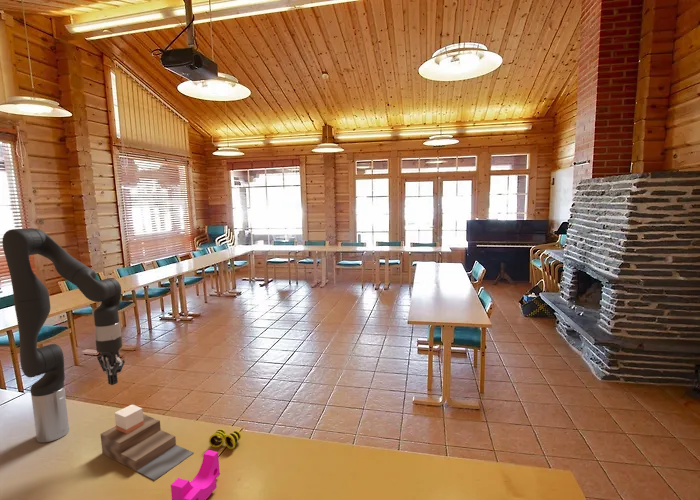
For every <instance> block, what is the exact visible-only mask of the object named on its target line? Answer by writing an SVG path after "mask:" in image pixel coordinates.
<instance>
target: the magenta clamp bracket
mask: <svg viewBox="0 0 700 500" xmlns="http://www.w3.org/2000/svg"><path fill="white" fill-rule="evenodd" d="M202 455H203V456H202V460H201V461H202V462H201V464H200V468H199V470H198V471H197V472H196V475H195V477H194V478H193V479H192V480H187V479H185V478H181V477H177V478H176V480H174V481H173V482H172V483H171V484H170V493H171V500H207V499H208V498H209V497H210V495H212V493H213V492H214V491H215V490H216V489H217V488H218V487H217V478H218V477H219V476H220V460H219V458H220V457H219V452H218V451H215V450H212V449H211V450H210V449H207V450H206V451H205V452H204V453H203V454H202Z"/></svg>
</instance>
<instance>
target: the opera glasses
mask: <svg viewBox="0 0 700 500" xmlns="http://www.w3.org/2000/svg"><path fill="white" fill-rule="evenodd" d="M241 439H242V434H241V432H240V430H235V429H234V430H233V432H230V433H229V434H226V430H224V428H218V429H217V430H216V431H215V432H214V433H212V434H211V435H210V436H209V438H208V443H209V445H210V446H211V447H212V448H219V447H221V446H222V445H223V444H225V446H226V447H227V448H228V449H229V450H234V449H235V447H236V445H237V444H238V442H239V440H241Z"/></svg>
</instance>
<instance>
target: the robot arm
mask: <svg viewBox="0 0 700 500" xmlns="http://www.w3.org/2000/svg"><path fill="white" fill-rule="evenodd" d="M2 249H3V253H4V256H5V259H6V263H7V266H8V267H7V268H8V270H9V271H8V272H9V275H10V276H9V277H10V283H11V286H12V293H13V303H14V309H15V314H16V315H15V317H16V321H17V328H18V335H19V336H18V337H19V361H20V366H21V367H20V368H21V370H22V373H23V374H24V376H25V377H27V378H35V377H38V376H40V375H42V376H41V378H39V379H38V380H37V381H35V382H34V383H33V384H32V385H31V387H30V394H31V395H30V397H31V404H32V410H33V420H34V428H35V435H36V436H35V437H36V441H37V442H38V443H49V442H53V441H56V440H58V439H60V438H63V437H64V436H66V435H67V434H68V433H69V431H70V424H69V416H68V407H67V400H66V398H67V397H66V391H65V381H66V380H65V379H66V377H65V358H64V352H63V349H62V348H61V346H60V345H58V344H56V343H52V344H51V343H49V344H47V345H44V346H40V347H37V345H38V338H39V333H40V332H41V330H42V328H43V326H44V324H45V322H46V321H47V319H48V317H49V315H50V311H51V302H50V301H51V300H50V293H49V289H48V288H47V287H46V286H45V284H44V283H43V282H42V280H40V279H39V277H37V275H36V274H35V272H34V270H33V269H32V266H31V262H30V256H32V255H33V256H34V255H39V256H42V257H44V258H46V259H48V260H50V262H52V264H53V266H54V269H55V271H56V272H57V273H58V274H59V276H61V277H62V278H63V279H64V280H66V281H68V282H70V283H71V284H72V285H75V286H76V287H77V288H78V290H79V292H80V293H81V294H83V296H84V297H85V298H86V299H87V300H89V301H91V302H96V303H100V306H98V307H96V309H95V310H94V311H93V318H94V319H93V320H94V321H93V322H94V338H95V346H96V347H95V348H96V352H97V353H99V354H100V355H98V356H97V357H96V358H97V361H98V363H99V365H100V367H101V369H102V372H105V374H106V375H107V384H108V385H111V386H114V385H117V384H118V373H121V372H122V370H123V367H124V365H125V362H126V361H125V359H121V358H120V357H121V355H120V352H119V351H120V350H121V349H122V347H123V339H122V330H121V325H120V317H119V307H120V303H121V297H122V286H121V284H120V282H119V281H118V280H117V278H116V279H115V278H111V277H108V278H103V279H100V280H97V279H96V277H97V273H96V272H95V271H94V269H92V268H91V267H89V266H87V265H86V264H84V263H83V262H82V261H80V260H78V259H77V258H75V257H73V255H71V254H70V253H68V251H67V250H65V249H64V248H63V247H62V246H61V245H59V244H58V243H57V242H56V241H55V240H54V239H53V238H52V237H51V236H50V235H49V234H47V233H46V232H44V231H43V230H42V229H39V228H33V227H32V228H30V227H29V228H14V229H9V230H7V231H5V233H4V234H3V236H2ZM43 374H44V375H43Z"/></svg>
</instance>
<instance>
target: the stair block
mask: <svg viewBox="0 0 700 500" xmlns="http://www.w3.org/2000/svg"><path fill="white" fill-rule="evenodd" d="M143 420H144V425H142V426H140V427H138V428H137V429H135V430H133V431H131V432H129V433H127V434H126V433H123V432H121V431H119V430H117V429H116V425H115V426H114V427H111V428H109V429H108V430H105V431H103V432H102V433H100V441H101V443H100V444H101V451H102V454H103V455H105V456H107V457H108V458H111V459H112V460H114V461H116V462H118V463H120V464H121V465H124V466H126V467H128V468H130V469H131V470H133V471H134V472H137V473H138V474H141V475H142V476H144V477H146V478H149V479H150V480H152V481H154V482H155V481H157V480H158V479H159V478H161V477H162V476H164V475H165V474H167V473H168V472H169V471H171V470H172V469H174V468H175V467H176V466H177V465H179V464H181V463H182V462H184V461H185V460H186V459H188V458H189V457H190V456H193V455H194V454H195V452H193V451H191V450H189V449H187V448H184V447H182V446H180V445H177V442H176V440H177V439H176V436H175V435H174V434H171V433H169V432H167V431H164V430H162V429H161V420H159V419H157V418H154V417H151V416H149V415H147V414H144V413H143Z"/></svg>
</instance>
